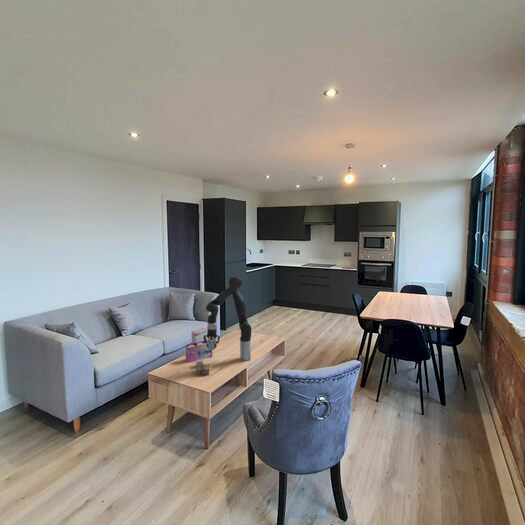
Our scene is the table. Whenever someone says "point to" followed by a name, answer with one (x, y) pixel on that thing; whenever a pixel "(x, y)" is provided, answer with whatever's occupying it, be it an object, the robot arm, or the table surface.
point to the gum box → (197, 351)
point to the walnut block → (202, 370)
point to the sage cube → (199, 362)
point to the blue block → (211, 345)
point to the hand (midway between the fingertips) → (211, 347)
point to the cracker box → (198, 335)
